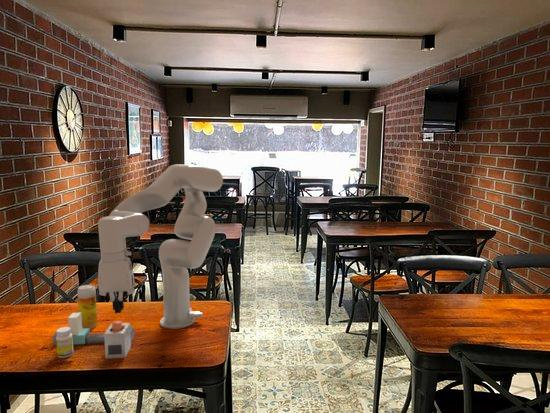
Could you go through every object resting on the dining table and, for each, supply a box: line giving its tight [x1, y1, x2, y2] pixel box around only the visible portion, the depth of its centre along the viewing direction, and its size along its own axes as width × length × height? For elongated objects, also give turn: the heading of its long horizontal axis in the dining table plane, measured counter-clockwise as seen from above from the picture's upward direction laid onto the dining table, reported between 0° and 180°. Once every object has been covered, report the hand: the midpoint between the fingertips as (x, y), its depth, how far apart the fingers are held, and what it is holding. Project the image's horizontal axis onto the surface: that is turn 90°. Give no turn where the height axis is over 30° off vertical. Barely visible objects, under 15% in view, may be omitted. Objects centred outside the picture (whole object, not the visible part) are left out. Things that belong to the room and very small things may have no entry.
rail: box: [52, 325, 135, 347], centre depth 147 cm, size 25×5×4 cm, turn 96°
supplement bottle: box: [55, 326, 75, 359], centre depth 138 cm, size 5×5×8 cm
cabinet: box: [104, 322, 132, 359], centre depth 139 cm, size 6×8×8 cm
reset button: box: [111, 320, 123, 331], centre depth 139 cm, size 3×3×4 cm
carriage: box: [67, 312, 90, 345], centre depth 146 cm, size 7×6×9 cm
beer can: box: [76, 284, 98, 330], centre depth 159 cm, size 6×6×15 cm
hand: (118, 311), depth 139 cm, fingers closed
